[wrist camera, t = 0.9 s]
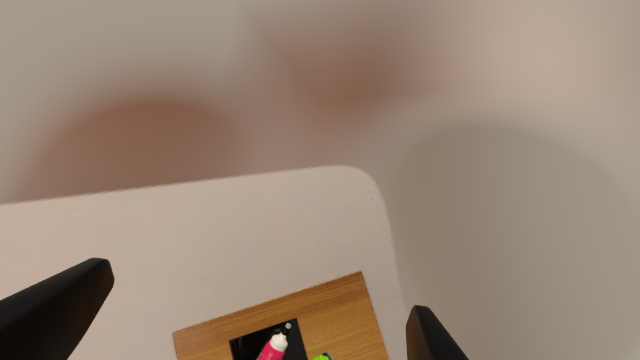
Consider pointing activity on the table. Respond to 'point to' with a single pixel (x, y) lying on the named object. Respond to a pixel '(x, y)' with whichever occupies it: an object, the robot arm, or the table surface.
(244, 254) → the table surface
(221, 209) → the table surface
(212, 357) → the board
